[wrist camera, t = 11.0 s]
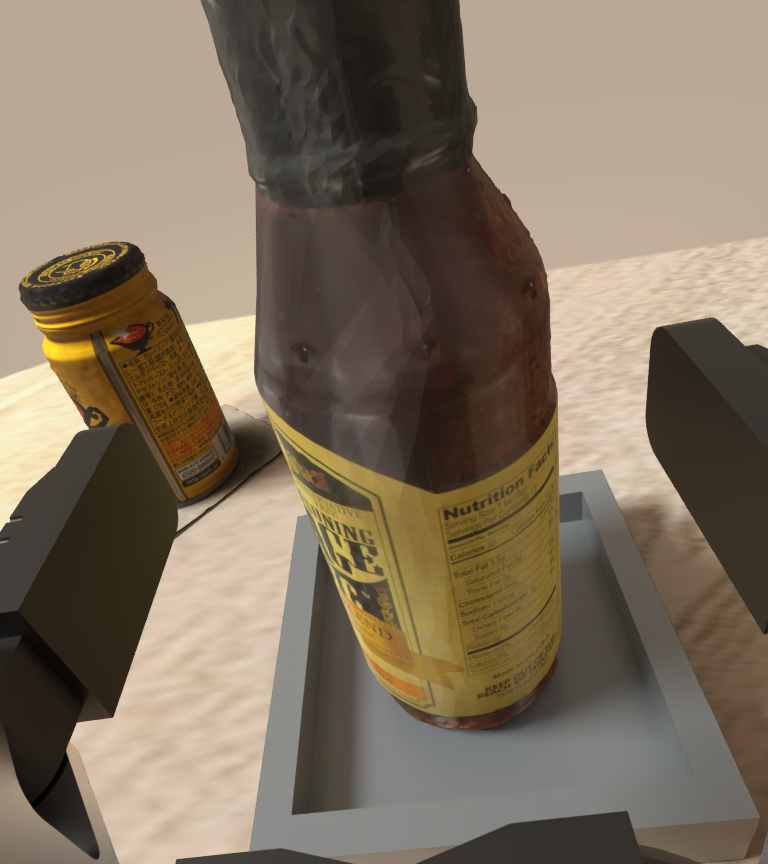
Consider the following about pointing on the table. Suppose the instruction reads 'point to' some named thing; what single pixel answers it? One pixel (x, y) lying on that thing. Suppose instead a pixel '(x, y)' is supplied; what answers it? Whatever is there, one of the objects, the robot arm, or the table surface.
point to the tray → (509, 742)
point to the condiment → (142, 371)
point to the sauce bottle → (402, 346)
